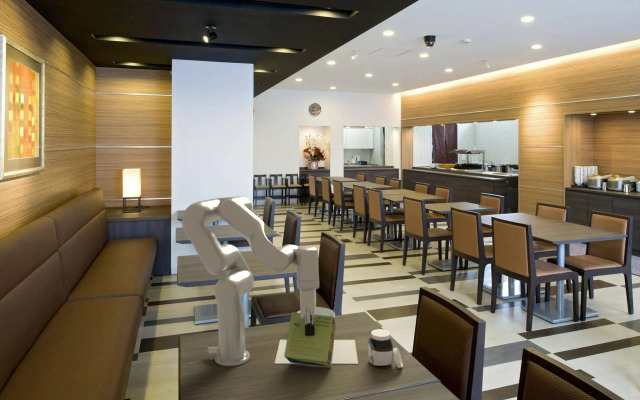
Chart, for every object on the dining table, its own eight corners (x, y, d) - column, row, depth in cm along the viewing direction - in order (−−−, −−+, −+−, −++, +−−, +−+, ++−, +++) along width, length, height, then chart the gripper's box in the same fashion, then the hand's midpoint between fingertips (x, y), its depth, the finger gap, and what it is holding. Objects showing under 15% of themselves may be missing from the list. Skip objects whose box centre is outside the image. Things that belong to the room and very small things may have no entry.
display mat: (274, 363, 165) (274, 363, 165) (280, 340, 185) (280, 339, 185) (358, 364, 165) (358, 363, 165) (354, 340, 185) (354, 339, 185)
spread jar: (365, 358, 169) (365, 328, 168) (394, 355, 172) (394, 325, 170) (377, 374, 158) (377, 342, 156) (407, 370, 160) (408, 338, 159)
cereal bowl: (293, 323, 203) (293, 308, 202) (330, 321, 206) (330, 305, 205) (298, 339, 186) (298, 322, 185) (339, 336, 189) (339, 319, 188)
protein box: (328, 361, 154) (333, 316, 161) (283, 356, 157) (291, 311, 164) (331, 367, 163) (336, 324, 170) (289, 362, 166) (296, 319, 173)
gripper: (298, 277, 164) (300, 326, 166) (295, 290, 149) (297, 344, 151) (319, 276, 164) (321, 326, 166) (318, 289, 149) (320, 343, 151)
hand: (309, 334), depth 158 cm, fingers closed
